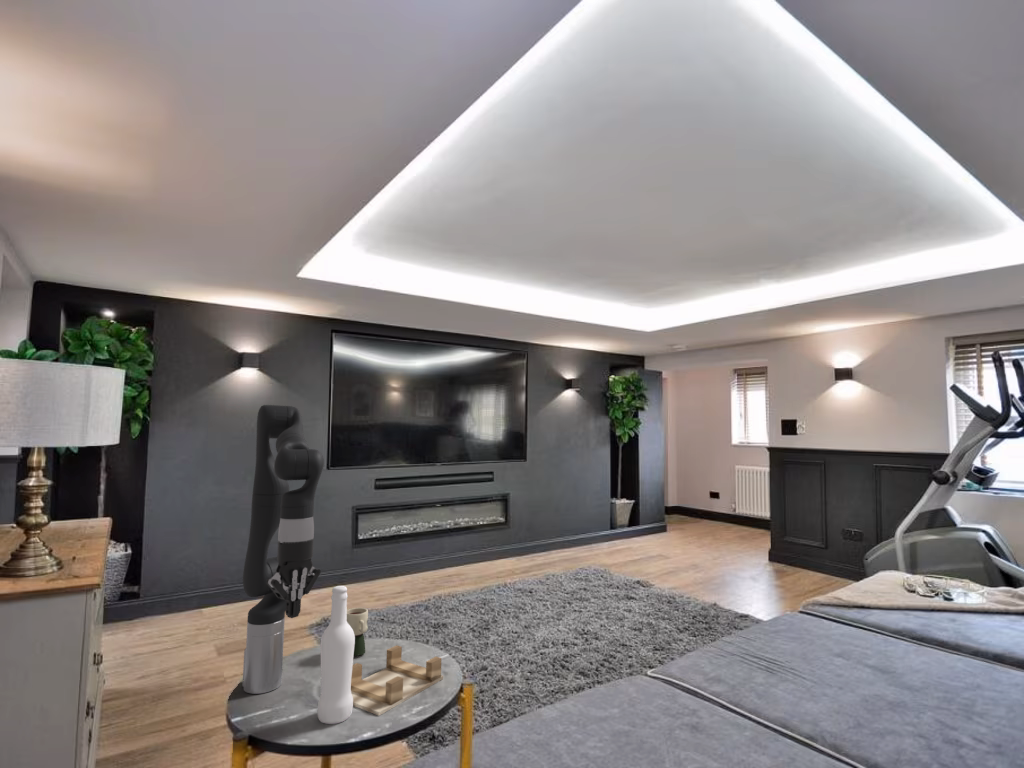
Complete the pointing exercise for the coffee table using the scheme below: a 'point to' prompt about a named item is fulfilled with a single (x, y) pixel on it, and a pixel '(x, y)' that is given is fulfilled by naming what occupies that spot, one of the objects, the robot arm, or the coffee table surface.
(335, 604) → the bottle
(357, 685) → the bottle cradle
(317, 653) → the coffee table surface
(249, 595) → the robot arm
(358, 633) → the character mug
